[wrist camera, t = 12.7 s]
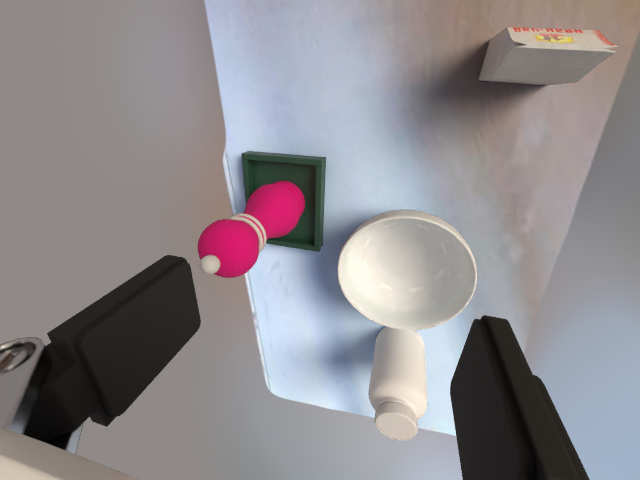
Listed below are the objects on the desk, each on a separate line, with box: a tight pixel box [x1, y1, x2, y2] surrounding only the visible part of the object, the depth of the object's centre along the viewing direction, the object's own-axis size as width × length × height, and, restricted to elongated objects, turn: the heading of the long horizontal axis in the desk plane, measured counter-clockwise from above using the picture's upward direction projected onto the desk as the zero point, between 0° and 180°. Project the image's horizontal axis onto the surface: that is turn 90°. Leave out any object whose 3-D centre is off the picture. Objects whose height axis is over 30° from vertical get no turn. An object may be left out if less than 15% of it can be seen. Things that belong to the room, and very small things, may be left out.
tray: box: [242, 151, 326, 252], centre depth 43 cm, size 14×12×2 cm
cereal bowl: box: [337, 209, 477, 330], centre depth 39 cm, size 17×17×7 cm
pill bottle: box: [369, 327, 427, 440], centre depth 43 cm, size 8×8×15 cm
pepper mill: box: [198, 181, 305, 278], centre depth 35 cm, size 7×7×20 cm
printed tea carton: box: [479, 27, 618, 85], centre depth 26 cm, size 4×7×10 cm, turn 85°
